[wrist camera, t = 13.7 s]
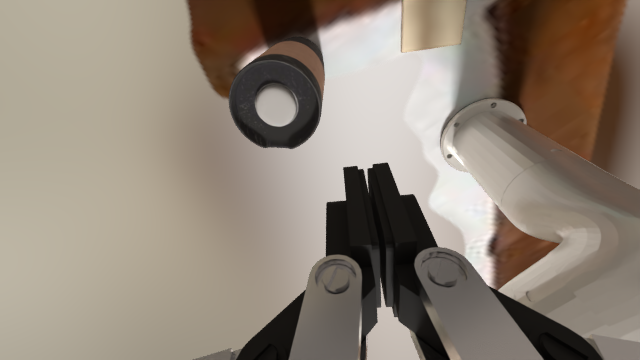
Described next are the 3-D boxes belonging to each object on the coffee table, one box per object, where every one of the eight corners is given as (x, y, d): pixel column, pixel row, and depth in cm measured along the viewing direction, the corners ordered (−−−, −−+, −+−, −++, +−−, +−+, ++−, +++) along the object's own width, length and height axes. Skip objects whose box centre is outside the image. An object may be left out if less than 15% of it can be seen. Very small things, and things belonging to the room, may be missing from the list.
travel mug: (298, 20, 35) (269, 31, 18) (336, 65, 38) (342, 112, 21) (261, 63, 38) (207, 106, 21) (299, 102, 41) (278, 167, 24)
